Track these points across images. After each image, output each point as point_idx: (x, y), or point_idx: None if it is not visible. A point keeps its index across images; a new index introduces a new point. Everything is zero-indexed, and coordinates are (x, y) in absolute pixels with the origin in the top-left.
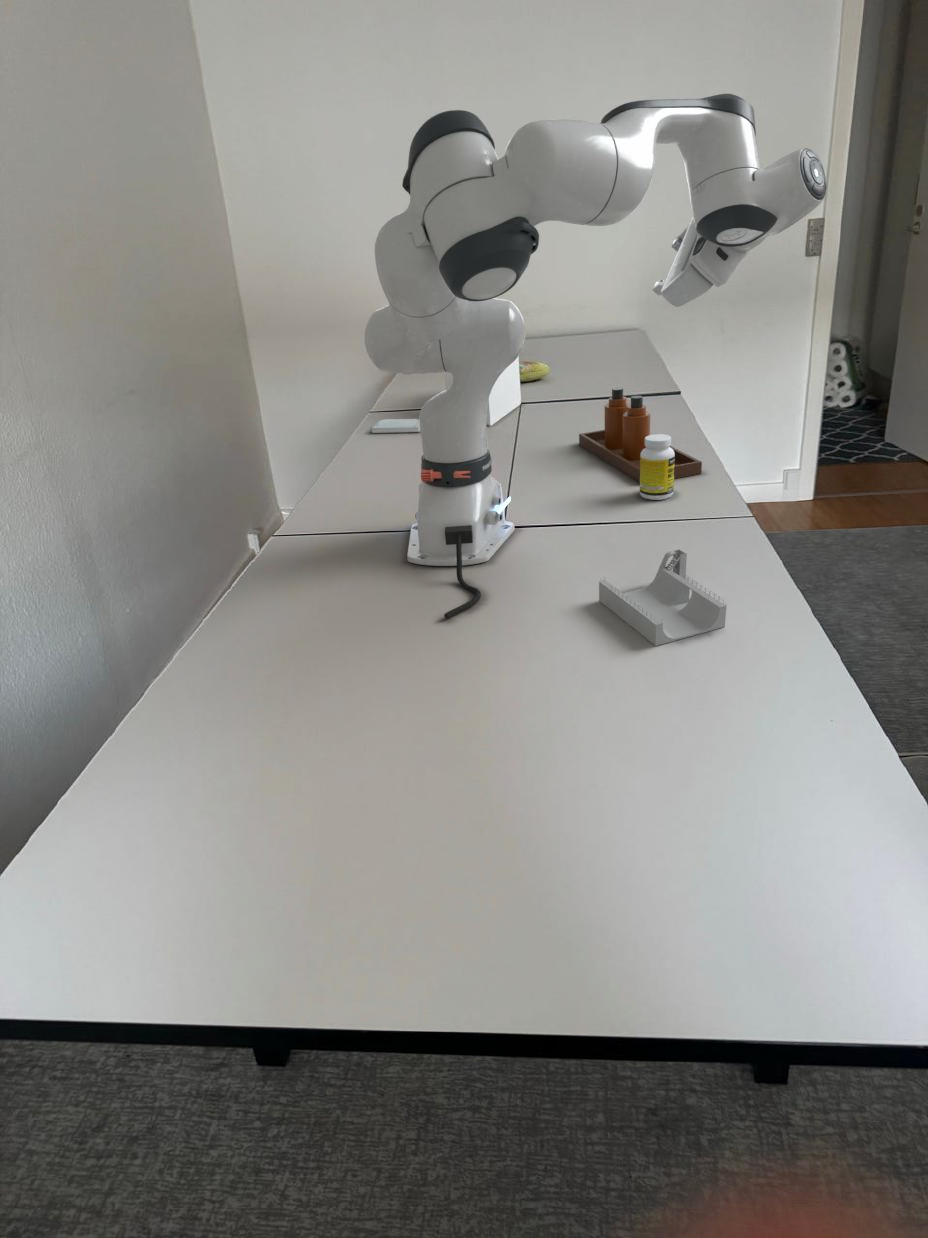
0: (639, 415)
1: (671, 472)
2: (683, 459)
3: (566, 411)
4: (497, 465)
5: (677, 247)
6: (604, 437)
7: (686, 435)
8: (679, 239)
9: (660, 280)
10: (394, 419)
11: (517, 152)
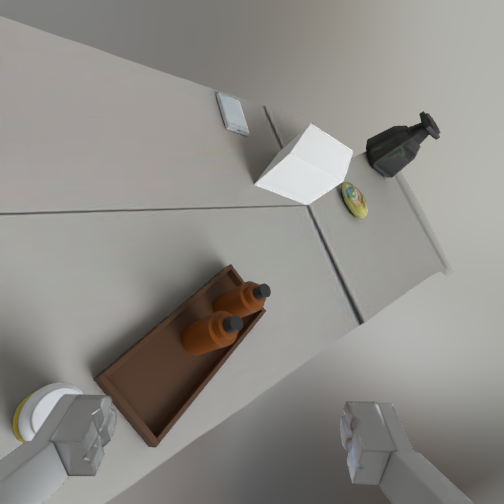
0: (215, 334)
1: None
2: (178, 408)
3: (301, 243)
4: (147, 195)
5: (349, 433)
6: None
7: (273, 374)
8: (377, 454)
9: (71, 435)
10: (241, 109)
11: None
